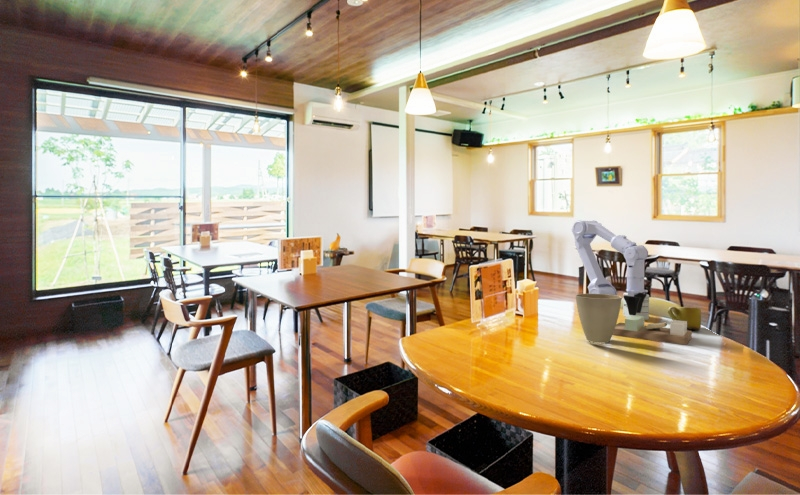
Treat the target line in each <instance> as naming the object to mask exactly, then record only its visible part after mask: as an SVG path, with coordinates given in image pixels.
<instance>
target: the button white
mask: <svg viewBox="0 0 800 495" xmlns="http://www.w3.org/2000/svg"><path fill="white" fill-rule="evenodd" d="M669 328H670V335H678V336H684V335H685V334H686V333H687V331H688V329H687V321H679V320H672V321H671V322H670V324H669Z"/></svg>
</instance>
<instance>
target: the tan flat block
mask: <svg viewBox="0 0 800 495" xmlns="http://www.w3.org/2000/svg"><path fill="white" fill-rule="evenodd" d="M645 326H646V329H652V328H661V327H662V328H667V326H668V322H667V321H665V322H664V321H663V322H657V323H649V324H647V325H645Z"/></svg>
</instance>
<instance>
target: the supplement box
mask: <svg viewBox="0 0 800 495" xmlns="http://www.w3.org/2000/svg"><path fill="white" fill-rule="evenodd" d="M624 295H628V292H623V294H622V296H623V297H622V298H623V299H622V304H623V305H622V316H623V317H624V318H628V317H630V316H631V315H629V312H628V307H627V303H626V301H625V299H624ZM649 313H650V295H649V294H647V296H646V297H645V299H644V301H643V305H642V309H641V312H640V313H636V315H640V316H644V321H646V320H649V319H650V314H649Z"/></svg>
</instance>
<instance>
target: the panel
mask: <svg viewBox="0 0 800 495" xmlns="http://www.w3.org/2000/svg"><path fill="white" fill-rule="evenodd" d="M646 326H647V325H646V324H644V327H642V328H641V329H640V330H638V331H630V330H625V322H617V323H616V326H615V329H614V332H613V335H612V336H618V337H626V338H633V339H639V340H646V341H647V340H648V341H655V342H661V343H668V344H669V343H670V344H677V345H684V346H687V345H688V343H690V341H691V339H692V336H693V335H692V334H693V333H692V332H693V331H692V330H687V333H686V334H685V335H684V336H678V335H670V327H669V328H667V327H661V328H652V329H646Z"/></svg>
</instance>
